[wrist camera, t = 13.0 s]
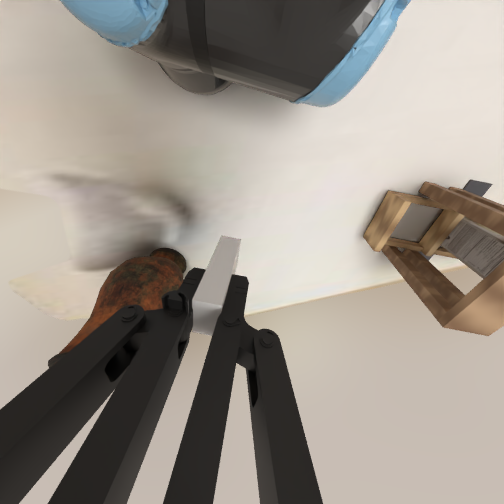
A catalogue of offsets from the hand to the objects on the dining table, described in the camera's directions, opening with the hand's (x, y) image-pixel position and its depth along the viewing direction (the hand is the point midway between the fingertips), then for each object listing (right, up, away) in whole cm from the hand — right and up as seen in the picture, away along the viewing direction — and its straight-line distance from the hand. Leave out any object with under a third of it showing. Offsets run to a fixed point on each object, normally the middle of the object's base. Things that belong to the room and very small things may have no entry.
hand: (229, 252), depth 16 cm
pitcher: (-24, -4, +41) cm, 48 cm away
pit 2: (+44, +11, +23) cm, 51 cm away
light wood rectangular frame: (+41, +5, +27) cm, 49 cm away
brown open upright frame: (+37, +6, +27) cm, 46 cm away
